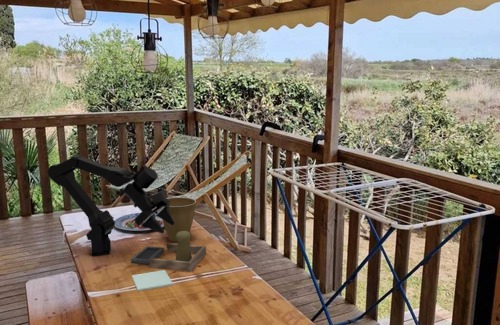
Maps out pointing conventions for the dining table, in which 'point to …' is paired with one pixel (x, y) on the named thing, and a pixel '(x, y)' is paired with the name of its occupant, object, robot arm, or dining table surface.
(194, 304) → the dining table surface
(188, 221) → the plant pot
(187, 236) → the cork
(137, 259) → the tray
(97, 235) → the robot arm
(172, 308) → the dining table surface
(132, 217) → the ceramic plate
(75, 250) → the dining table surface
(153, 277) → the sage pad
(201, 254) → the frame
